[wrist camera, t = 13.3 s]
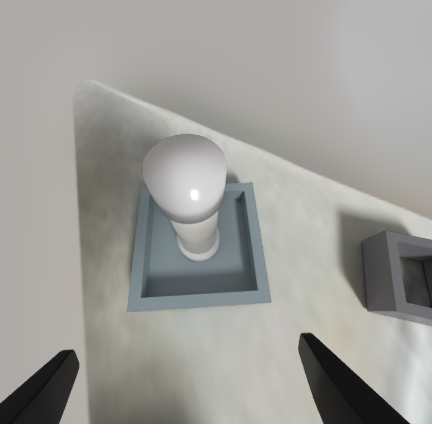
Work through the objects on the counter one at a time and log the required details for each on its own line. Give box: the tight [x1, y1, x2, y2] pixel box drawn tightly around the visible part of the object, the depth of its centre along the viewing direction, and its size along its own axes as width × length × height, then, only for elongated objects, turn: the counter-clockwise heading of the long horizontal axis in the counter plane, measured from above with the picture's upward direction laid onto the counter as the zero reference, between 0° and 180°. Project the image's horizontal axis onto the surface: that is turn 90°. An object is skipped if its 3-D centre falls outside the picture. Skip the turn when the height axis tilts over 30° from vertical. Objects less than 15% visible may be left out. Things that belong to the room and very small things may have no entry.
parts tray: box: [127, 182, 271, 312], centre depth 21 cm, size 12×12×3 cm
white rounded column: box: [142, 134, 227, 263], centre depth 16 cm, size 4×4×13 cm
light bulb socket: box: [362, 231, 432, 326], centre depth 20 cm, size 7×7×4 cm
